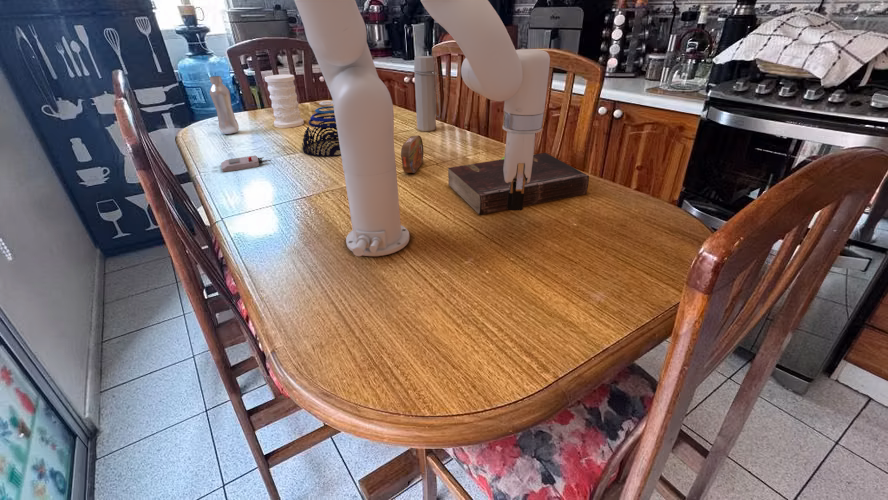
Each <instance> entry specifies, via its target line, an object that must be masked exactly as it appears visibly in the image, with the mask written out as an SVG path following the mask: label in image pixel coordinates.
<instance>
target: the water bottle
mask: <svg viewBox="0 0 888 500" xmlns="http://www.w3.org/2000/svg"><path fill="white" fill-rule="evenodd" d="M413 62H414V63H413V65H414V66H413V73H415V74H414V91H415V93H414V94H415V112H416V113H415V114H416V130H418V131H420V132H433V131H434V130H436V128H437V122H436V121H437V119H436V118H440V117H441V102H440V95H439V88H438V87H439V86H438V80H437V77H438V72H437V71H435V60H434V55H433V56H431V55H419V56H414V61H413ZM437 99H438V100H437ZM437 103H438V111H439V113H438V114H437Z"/></svg>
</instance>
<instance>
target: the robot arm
mask: <svg viewBox="0 0 888 500" xmlns="http://www.w3.org/2000/svg"><path fill="white" fill-rule="evenodd" d="M293 2H294V4H295V6H296V9H297V11H298V14H299V16H300V19H301V22H302V25H303V29H304V34H305V37H306V40H307V43H308V45H309V47H310V48H311V50H312V53H313V54H314V57H315V59H316V61H317V64H318V67H319V69H320V72H321V74H322V77H323V79H324V81H325V84H326V87H327V89H328V91H329V94H330V96H331V99H332V100H331V101H333V104H332V106H333V107H334V108H333V110H334V113H333V115H335V120H336V122H335V123H336V125H337V130H336V131H337V132H338V138H339V140H338V142H339V143H338V145H340V150H339V152H340V154H341V156H340V158H341V165H342V170H343V176H344V182H345V189H346V195H347V202H348V209H349V216H350V222H351V228H352V230H351V231H349V232H348V234H347V236H346V238H345V245H346V247H347V249H348V250H349V251H350V252H352V254H353V255H354V256H356V257H362V256H364V257H365V256H366V257H383V256H387V255H391V254H394V253H397V252H399V251H401V250H403V249H404V248H405V247H406V246H407V245H408V244H409V242H410V232H409V229H408V228H407V227H405V226H404V225H402V222H401V210H400V209H401V208H400V199H399V198H400V197H399V186H398V185H399V184H398V173H397V164H396V163H397V162H396V153H395V128H394V127H395V115H394V114H395V113H394V112H395V111H394V103H393V99H392V96H391V92H390V91H389V88H388V87H387V85H386V84H385V83H384V82H383V80H382V79H381V78H380V77H379V74H378V72H377V68H376V65H375V62H374V59H373V56H372V53H371V51H370V47H369V44H368V41H367V40H368V33H367V32H368V31H367V27H366V23H365V20H364V18H363V16H362V14H361V12H360V9H359V6H358V4H357V2H356V0H293ZM420 2H421V4H422V6H423V7H424V9H425V11H426V12H427V13H428V15H430V17H431V18H432V19H433V20H434V21H435V22H436V23H437V24H438V25H440V26H441V27H442V28H443V29H444V30H445V31H446V32H447V33H448V34H449V35H450V37H451V38H452V39H453V40H454V42H455V43H456V45H457V47H459V48H460V50H461V52H462V53H463V55H464V57H465V58H464V59H463V61H462V64H461V68H460V72H461V73H460V76H461V78H462V81H463V83H464V84H465V85H466V87H467V88H468V89H470V90H471V91H472V92H474V93H476V94H478V95H480V96H482V97H484V98H486V99H488V100H490V101H493V102H503V115H502V130H503V131H505V132H506V138H505V147H504V157H505V158H504V167H503V171H504V179H505V182H506V183H508V182H510V185H509V189H510V190H508V199H507V209H506V210H508V211H521V212H522V211H523V209H524V208H523V207H524V206H523V200H524V186H525V182H526V184H527V183H529V182H530V178H531V171H532V163H533V155H534V154H535V146H536V145H535V144H536V143H535V142H536V134H537V133H540V132H542V131H543V124H544V116H545V107H546V99H547V90H548V82H549V75H550V64H551V56H550V54H549V52H547V51H546V50H543V49H537V48H521V49H516V48H515V45H514V43H513V40H512V38H511V36H510V34H509V33H508V29H507V28H506V26H505V24H504V23H503V21H502V19H501V17H500V15H499V14H498V12H497V11H496V9H495V8H494V7H493V5H492V4H491V2H490V1H489V0H420Z"/></svg>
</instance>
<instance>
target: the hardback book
mask: <svg viewBox="0 0 888 500" xmlns="http://www.w3.org/2000/svg"><path fill="white" fill-rule="evenodd" d="M503 167H504V159H501V158H500V159H495V160H489V161H482V162H475V163H470V164H463V165H457V166H450V167H447V171H448V173H447V174H448V178H447V179H448V186H449V187H450V188H451V189H452V190H453V191H454V192H455V193H456V194H457V195H458V196H459V197H460V198H461V199H462V200H464V201H465V202H466V203H467V204H468V206H470V207H471V208H472V209H473V210H474V211H475V212H476V213H477V214H478V215H486V214H491V213H495V212H500V211H505V210H508V209H507V199H508V190H510V189H509V185H510V182H508V183H506V182H505V179H504V171H503ZM589 182H590V175H588V174H587V173H585V172H583V171H580V170H579V169H577V168H575V167H574V166H572V165H569V164H567V162H564V161H563V160H560V159H558V158H556V157H555V156H553V155H551V154H550V153H547V152H541V153H534V155H533V163H532V171H531V178H530V182H529V183H527V184H526V182H525V186H524V200H523V207H526V206H531V205H537V204H541V203H546V202H551V201H556V200H561V199H566V198H567V199H568V198H572V197H577V196H581V195H586V194H587V192H588V188H589Z"/></svg>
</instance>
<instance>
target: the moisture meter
mask: <svg viewBox="0 0 888 500" xmlns="http://www.w3.org/2000/svg"><path fill="white" fill-rule="evenodd" d="M271 161H272V159H264V157H259V156H258V155H248V156H242V157H235V158H229V159H225V160H224V161H222V162H221V163H220V167H221V171H222V173H226V172H227V173H228V172H232V171H238V170H239V171H240V170H245V169H252V168H258V167H260V164H263V163H268V162H271Z"/></svg>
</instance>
